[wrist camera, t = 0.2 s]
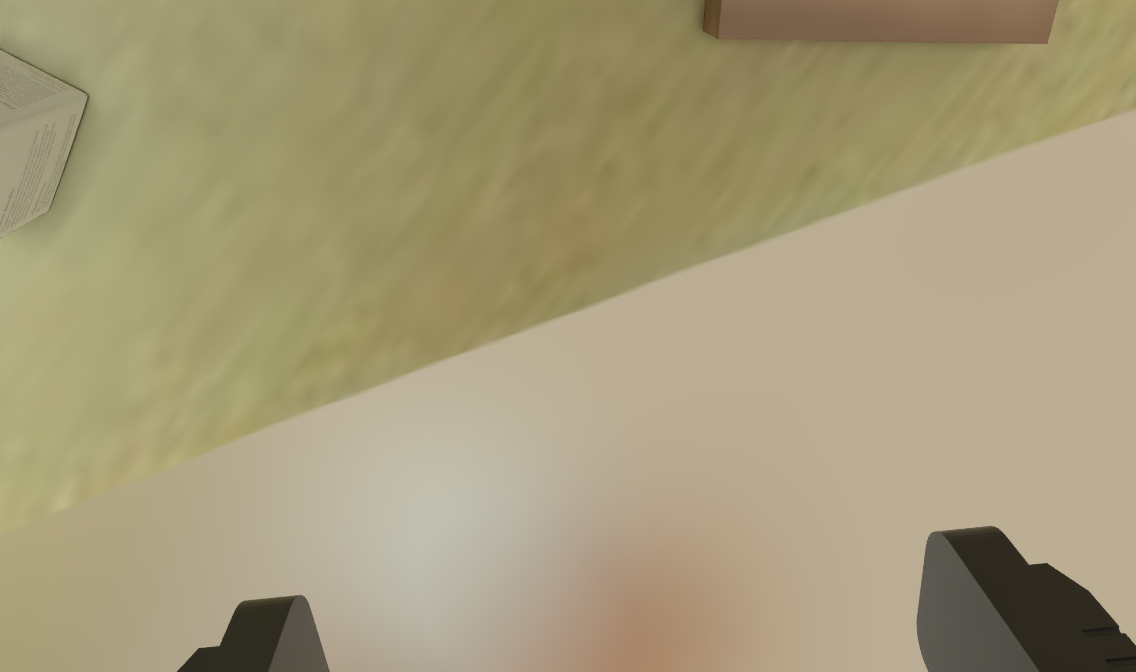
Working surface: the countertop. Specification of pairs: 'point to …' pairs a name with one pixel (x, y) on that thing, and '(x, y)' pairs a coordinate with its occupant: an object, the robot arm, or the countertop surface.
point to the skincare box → (33, 139)
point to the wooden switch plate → (883, 20)
